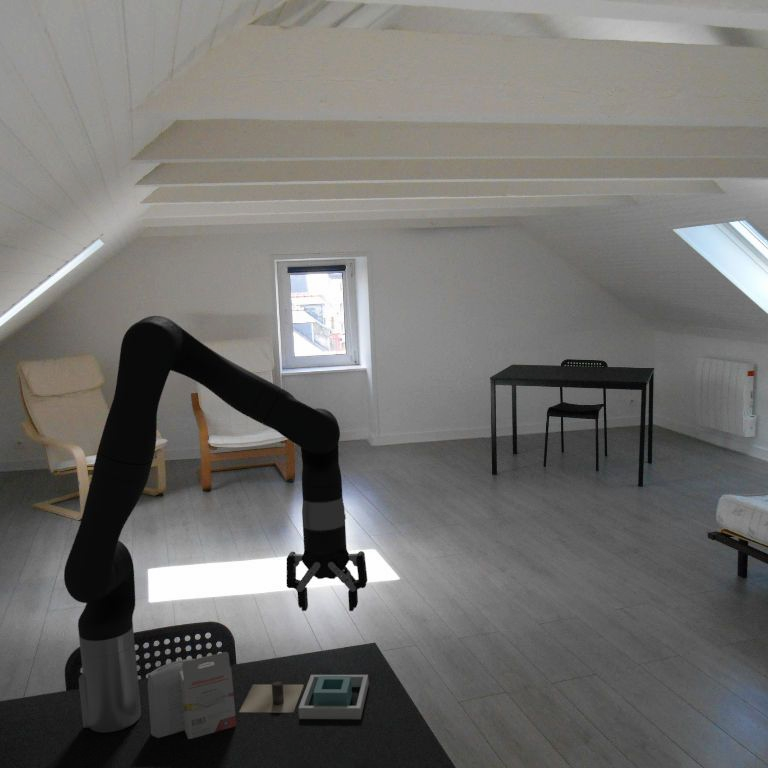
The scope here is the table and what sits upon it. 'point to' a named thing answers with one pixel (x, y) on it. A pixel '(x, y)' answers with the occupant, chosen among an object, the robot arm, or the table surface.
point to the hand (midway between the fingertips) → (328, 609)
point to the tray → (333, 711)
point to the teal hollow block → (333, 691)
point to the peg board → (272, 698)
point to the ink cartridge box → (207, 695)
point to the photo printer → (165, 699)
